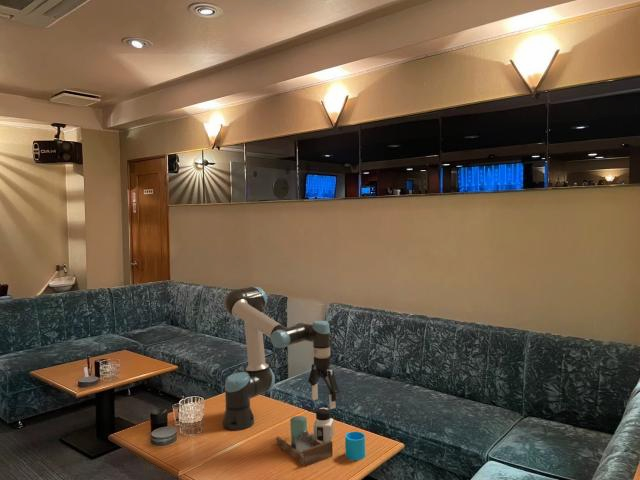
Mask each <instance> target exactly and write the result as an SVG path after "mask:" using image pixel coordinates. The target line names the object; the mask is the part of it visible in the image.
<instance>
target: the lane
mask: <svg viewBox="0 0 640 480" xmlns="http://www.w3.org/2000/svg"><path fill="white" fill-rule="evenodd" d="M308 434H310V433H309V432H308ZM275 440H276V445H277V446H278V447H280V448H281V449H282V450H283V451H284V452H286V453H287V454H288V455H290V456H291V457H292V458H294V459H295V460H296V461H297V462H299V463H300V464H301V465H303V466H304V467H308V466H310V465H313V464H315V463H318V462H320V461H323V460H327V459H329V458H331V457H333V448H334V447H333V441H328V442H321V441H320V440H318V439H316V438H315V437H314V443H315V446H314V447H311V448H308V449H306V450H303V452H301V453H300V452H299V451H297V450H296V449H295V448H293V447H292V446H291V444H289V443H288V442H287V441H286V440H284V439H283V438H281V437H280V436H277V437H276V438H275Z"/></svg>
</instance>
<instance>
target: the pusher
mask: <svg viewBox="0 0 640 480" xmlns="http://www.w3.org/2000/svg"><path fill="white" fill-rule="evenodd" d="M308 433H309V431H308V429H307V430H306V431H303V432H301V437H299V438H296V439H294V443H295V449H296V450H297V451H299V452H300V453H303V450H306V449H308V448H311V447H314V446H315V443H314V432H310V433H309V434H308Z"/></svg>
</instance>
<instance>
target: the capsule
mask: <svg viewBox="0 0 640 480" xmlns="http://www.w3.org/2000/svg"><path fill="white" fill-rule="evenodd" d="M307 419H308V418H307V417H305V416H302V415H296V416H293V417H291V418H290V445H291V446H292V447H293V448H295V443H294V439H296V438H299V437H301V432H303V431H306V430H307V431H308V420H307Z"/></svg>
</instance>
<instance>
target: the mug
mask: <svg viewBox="0 0 640 480" xmlns="http://www.w3.org/2000/svg"><path fill="white" fill-rule="evenodd" d="M344 437H345V439H344V440H345V443H344V445H345V457H346V459H348V460H350V461H360V460H364V459H365V457H366V435H365V434H364V432H360V431H350V432H347V433H346V434H345V436H344Z"/></svg>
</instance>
